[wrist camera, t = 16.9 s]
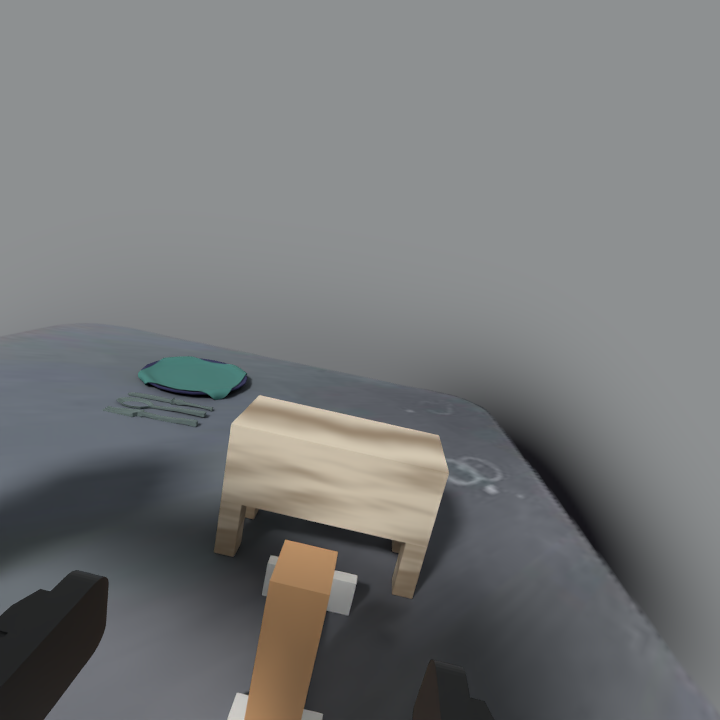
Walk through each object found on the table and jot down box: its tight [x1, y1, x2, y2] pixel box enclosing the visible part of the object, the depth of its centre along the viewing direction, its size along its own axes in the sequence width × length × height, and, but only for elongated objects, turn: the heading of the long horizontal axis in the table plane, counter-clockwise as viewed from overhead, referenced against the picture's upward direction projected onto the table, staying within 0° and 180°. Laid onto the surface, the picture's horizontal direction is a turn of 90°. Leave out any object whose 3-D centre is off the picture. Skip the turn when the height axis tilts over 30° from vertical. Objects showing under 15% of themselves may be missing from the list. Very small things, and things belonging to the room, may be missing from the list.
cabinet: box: [214, 395, 449, 599], centre depth 43 cm, size 10×20×14 cm, turn 85°
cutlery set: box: [103, 356, 247, 427], centre depth 77 cm, size 20×30×2 cm, turn 179°
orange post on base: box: [227, 540, 357, 720], centre depth 28 cm, size 16×8×15 cm, turn 175°
